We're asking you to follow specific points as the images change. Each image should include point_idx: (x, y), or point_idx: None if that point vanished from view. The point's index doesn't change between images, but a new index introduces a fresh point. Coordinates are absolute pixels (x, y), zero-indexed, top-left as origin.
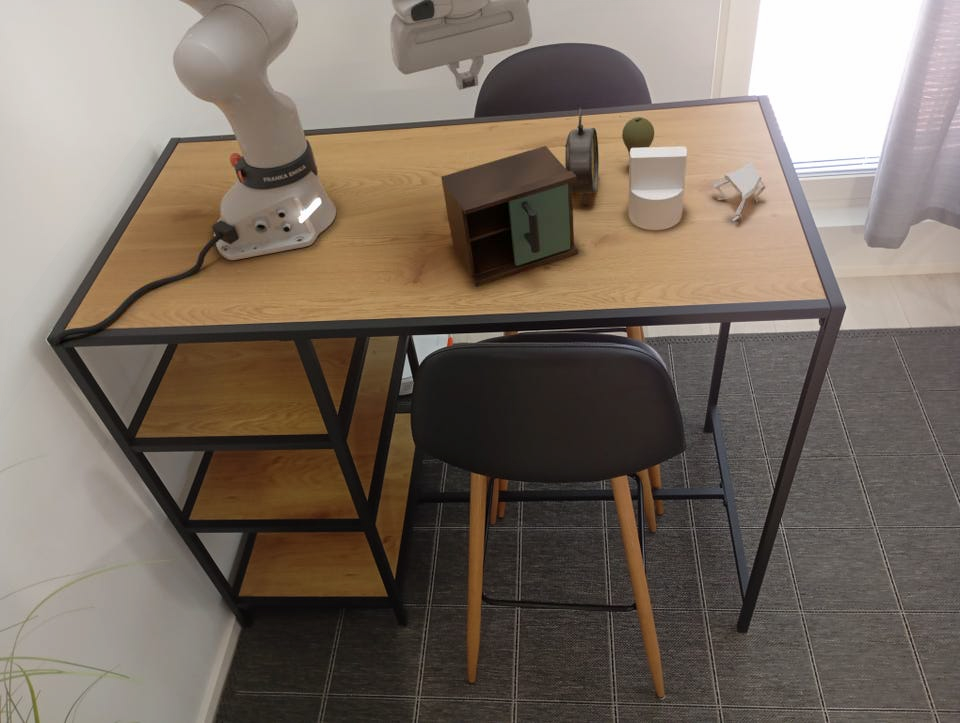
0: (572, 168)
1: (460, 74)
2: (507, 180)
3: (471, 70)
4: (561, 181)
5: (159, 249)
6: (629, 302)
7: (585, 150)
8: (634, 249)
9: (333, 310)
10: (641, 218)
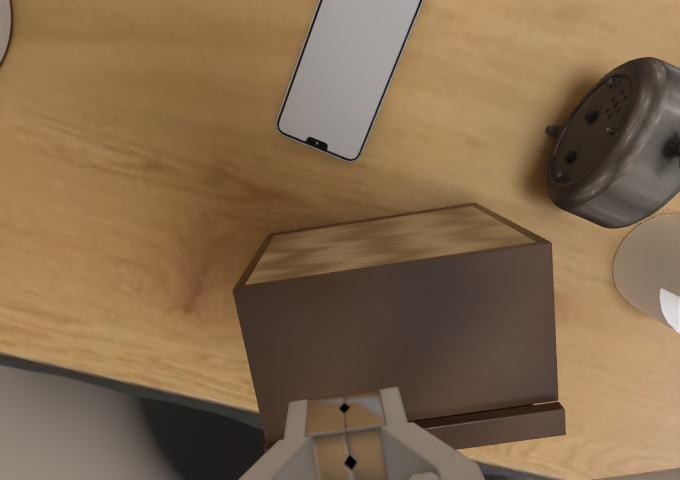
0: (580, 211)
1: (317, 447)
2: (400, 370)
3: (391, 456)
4: (523, 438)
5: None
6: (514, 458)
7: (643, 205)
8: (580, 346)
9: (38, 337)
10: (633, 302)
